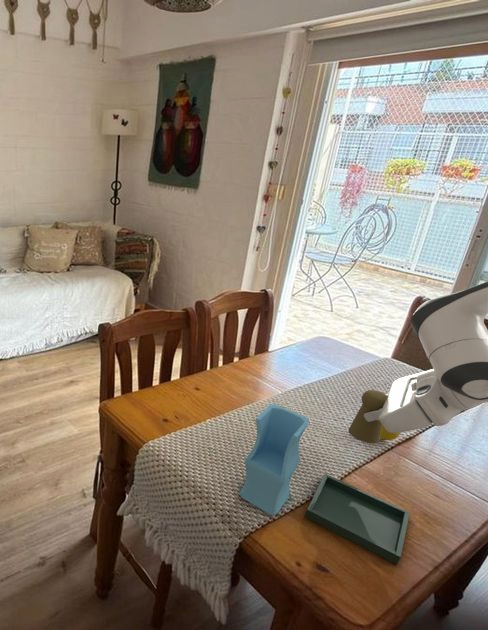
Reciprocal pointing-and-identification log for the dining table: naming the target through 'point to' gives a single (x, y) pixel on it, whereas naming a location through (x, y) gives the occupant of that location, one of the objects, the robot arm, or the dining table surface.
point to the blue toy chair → (273, 458)
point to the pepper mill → (360, 425)
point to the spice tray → (360, 517)
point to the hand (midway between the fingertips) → (368, 411)
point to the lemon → (388, 434)
